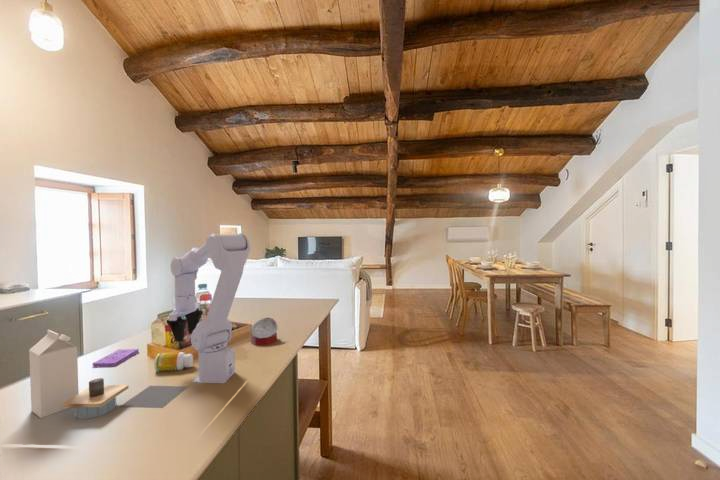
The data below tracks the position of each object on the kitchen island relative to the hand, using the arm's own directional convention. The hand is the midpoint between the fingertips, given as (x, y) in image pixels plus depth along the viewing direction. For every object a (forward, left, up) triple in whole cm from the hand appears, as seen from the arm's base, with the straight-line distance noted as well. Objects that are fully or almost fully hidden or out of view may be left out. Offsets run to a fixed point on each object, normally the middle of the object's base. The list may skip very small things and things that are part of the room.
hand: (186, 337), depth 107 cm
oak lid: (+6, +27, -6) cm, 28 cm away
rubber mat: (-4, +20, -9) cm, 22 cm away
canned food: (-17, -25, -10) cm, 31 cm away
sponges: (+27, -5, -10) cm, 30 cm away
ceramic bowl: (+6, +27, -9) cm, 29 cm away
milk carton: (+18, +26, -10) cm, 33 cm away
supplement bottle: (+7, +4, -7) cm, 11 cm away
